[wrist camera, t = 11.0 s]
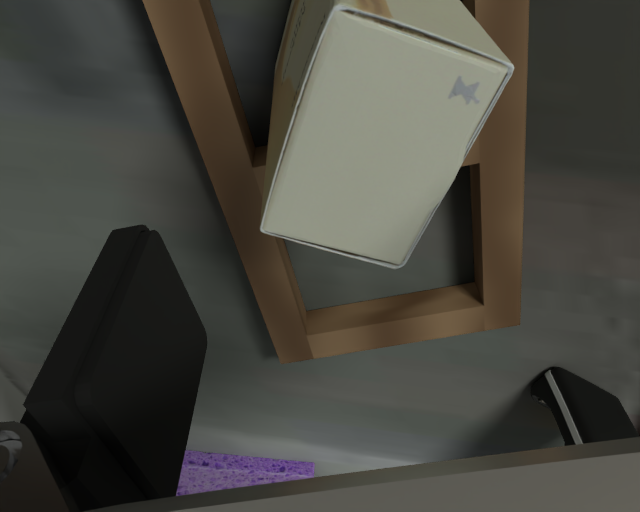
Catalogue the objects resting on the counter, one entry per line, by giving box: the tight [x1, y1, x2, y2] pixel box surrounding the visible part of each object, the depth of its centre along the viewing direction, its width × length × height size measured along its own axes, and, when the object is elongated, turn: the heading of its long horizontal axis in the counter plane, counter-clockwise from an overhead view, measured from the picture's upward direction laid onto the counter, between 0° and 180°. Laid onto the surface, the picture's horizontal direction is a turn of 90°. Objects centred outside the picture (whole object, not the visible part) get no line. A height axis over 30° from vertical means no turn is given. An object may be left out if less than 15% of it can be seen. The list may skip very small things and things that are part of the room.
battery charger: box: [531, 367, 640, 446], centre depth 34 cm, size 7×4×11 cm, turn 56°
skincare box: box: [260, 0, 514, 269], centre depth 18 cm, size 6×4×12 cm
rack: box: [142, 0, 529, 364], centre depth 25 cm, size 14×24×2 cm, turn 12°
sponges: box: [176, 450, 315, 496], centre depth 43 cm, size 7×13×2 cm, turn 77°
